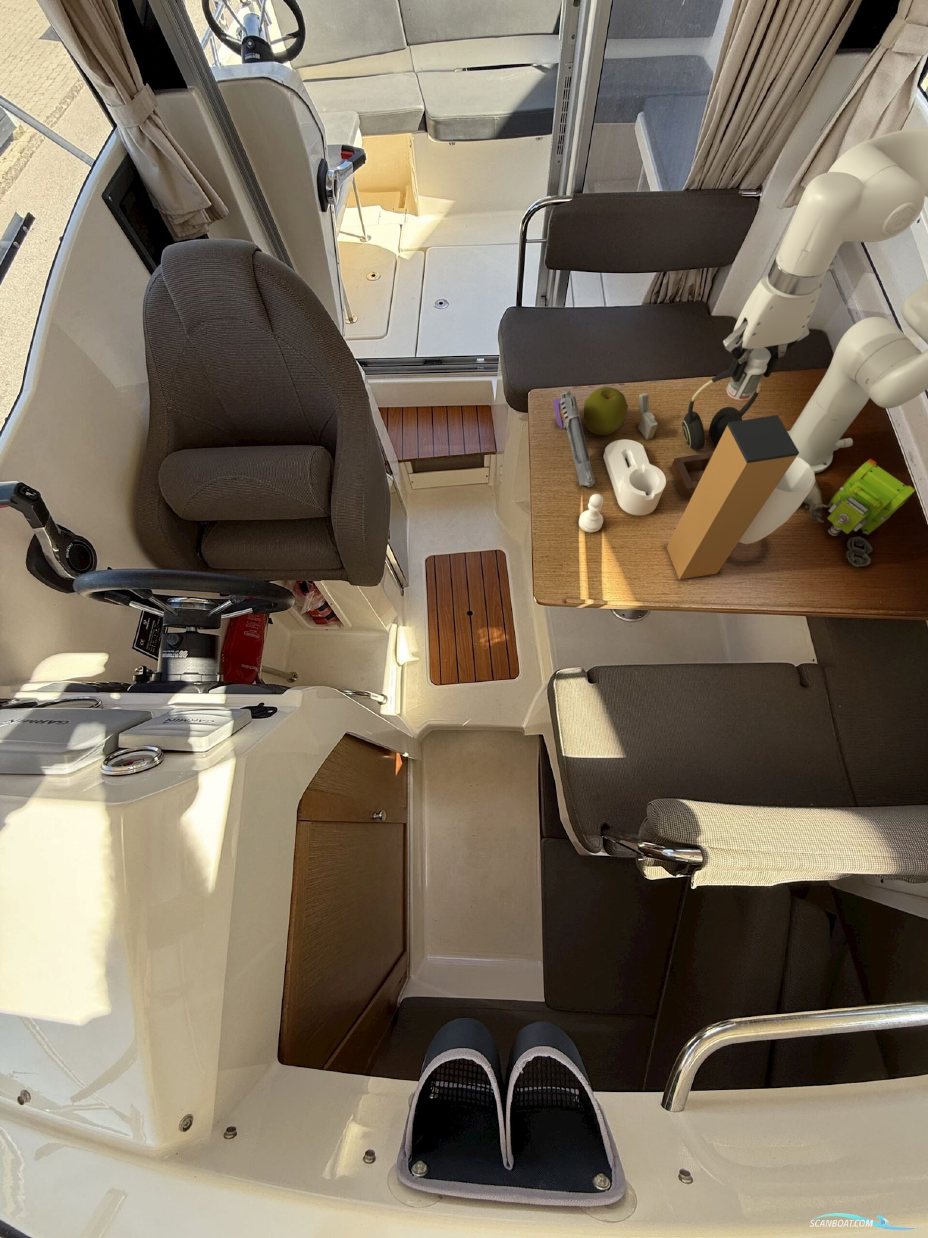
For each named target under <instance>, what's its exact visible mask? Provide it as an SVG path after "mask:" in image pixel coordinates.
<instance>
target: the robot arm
mask: <svg viewBox="0 0 928 1238" xmlns="http://www.w3.org/2000/svg"><path fill="white" fill-rule="evenodd" d="M926 198H928V128H927V127H926V128H925V127H924V128H923V127H919V128H908V129H900V130H896V131H893V132H889V133H886V134H882V135H878V136H876V137H873V138H870V139H866V140H865V141H863V142H860V143H858V144H856V145H854V146H852V147H851V148H849V149H848V150H846V151H845V152H844V153H842V154H841V156H839V157H838V158H837V159H836V160H835V161H834V162H833V164H832V165H831V166H830V167H829V169H828V171H827V172H824V173H821V174H818V175H816V176H815V177H813V179H812V180H811V181H809V183H808V184H807V185H806V186H805V189H804V191H803V193H802V195H801V198H800V200H799V202H798V205H797V207H796V209H795V211H794V214H793V216H792V218H791V221H790V223H789V225H788V227H787V230H786V232H785V234H784V237H783V239H782V241H781V244H780V246H779V248H778V251H777V253H776V254H775V255H776V256H775V258H774V260H773V263H772V264H771V267H770V269H769V272H768V273H767V276H763V277H761V279H760V280H759V281H758V283H756V286H755V287H754V289H753V291H752V292H751V294H750V295H749V297H748V299H747V300H746V303H745V304H744V306H743V308H742V310H741V312H740V314H739V317H738V318H737V321H736V323H735V325H734V328H733V331H732V332H731V333H730V334H729V335H728V336H727V337H726V338H725V339H724V340H723V341H722V345H723V347H724V349H725V350H726V351H727V352H729V353H731V354H732V356H733V358H732V361H731V363H730V366H729V367H728V370H729V374H730V375H731V376H732V377H731V378H733V380H734V382H738V381H740V378H741V376H742V374H743V372H744V370H745V368H746V366H747V362H746V359H747V358H748V357H749V355H750V354H751V353H752V351H753V350H754V349H755V348H761V347H764V348H766V347H767V348H766V349H767V350H768V351H769V352H770V354H771V357H770V359H769V361H768V363H767V369H766V371H765V373H764V375H763V377H764V378H769V377H770V376H771V375H772V372H773V370H774V369H775V366H776V365H777V363H778V361H779V360H780V358H782V357H784V356H785V355H786V353H787V351H788V350H789V349H791V348H793V347H794V346H795V345H796V344H797V343H798V342H799V341H801V340H803V339H804V338H806V337H808V336H809V334H810V330H809V327H808V323H809V321H810V320H811V317H812V314H814V313H813V312H814V310H815V307H816V305H817V303H818V300H819V297H820V295H821V294H820V293H821V289H822V281H823V279H824V278H825V276H826V273H828V272H831V271H833V269H834V266H835V262H834V261H833V260H834V258H835V256H836V254H837V253H838V250H839V249H840V247H841V245H842V244H843V243H877V242H883V241H887V240H889V239H892V238H895V237H896V236H898V235H900V234H901V233H903V232H904V231H906V230H907V229H908V228H910V227H911V226H912V224H914V222H916V220H917V219H918V217H919V216H920V214H921V213H922V210H923V209H924V204H925V199H926ZM901 316H902V318H903V320H904V321H905V322H906V323H907V325H908V326H909V327H910V329H911V330H912V331H913V332H915V333H916V335H917V336H918V337H919V338H920V339H921V340H922V341H923V342H924V343H925V344H926V345H928V279H927V280H926V281H924V282H923V283H922V284H921V285H919V286H918V287H917V288H916V289H914V291H912V292H911V293H910V294H909V295H908V296H907V298H906V299H905V300H904V302H903V303H902V306H901ZM927 390H928V348H927V349H926V350H924V351H923V352H922V351H921V350H920V349H919V348H918V347H917V346H916V345H915V344H914V343H913V342H912V340H911V338H909V337H908V336H907V335H906V334H905V333H904V332H903V331H902V330H901V329H900V328H899V327H898V326H897V325H896V324H894V323H893V322H892V321H890V320H889V319H886V318H884V317H880V316H870V317H866V318H863V319H860V320H859V321H857V322H856V323H854V324H853V325H852V326H851V327H849V328H848V330H846V331H845V333H844V334H843V335H842V337H841V338H840V340H839V342H838V343H837V346H836V348H835V350H834V353H833V356H832V358H831V362H830V364H829V366H828V368H827V370H826V372H825V373H824V376H823V378H822V379H821V381H820V383H819V384H818V386H817V387H816V389H815V390H814V392H813V394H812V395H811V397H810V399H809V400H808V401H807V403H806V404H805V406H804V408H803V409H802V411H801V413H800V414H799V416H798V417H797V419H796V421H795V422H794V424H793V425H792V427H791V428H790V430H787V432H788V434H789V436H790V437H791V439H792V441H793V442H794V444H795V446H796V448H797V449H798V451H799V454H798V455H797V457H800V458H801V459H803V460H804V461H805V462H807V463H808V464H809V465H810V467H811V468H812V470H813V471H814V474H815V475H816V474H818V473H821V472H824V471H826V469H827V468H828V467H829V466H830V465H831V463H832V462H833V458H834V452H835V451H838V450H839V449H844V448H850V447H852V446H853V445H854V440H853V439H852V437H848V438H842V437H843V435H844V434H845V432H846V431H847V430H848V428H849V427H850V426H851V424H852V423H853V422H854V420H855V419H856V418H857V416H858V415H859V414H860V412H861V411H862V410H863V408H864V407H865V406H866V404H867V403H868V402H869V399H870V400H871V401H872V402H873V403H874V404H875V405H877V406H878V407H880V408H882V409H894V408H897V407H899V406H902V405H904V404H906V403H908V402H909V401H911V400H913V399H914V398H916V397H918V396H919V395H921V394H923V393H924V392H925V391H927ZM841 438H842V439H841Z"/></svg>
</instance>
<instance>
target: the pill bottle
mask: <svg viewBox="0 0 928 1238" xmlns="http://www.w3.org/2000/svg"><path fill="white" fill-rule="evenodd" d="M770 357H771V354H770V352H769V351H768V350H767V348H766V347H761V348H755V349H754V350H753V351H752V353H751V354H750V355H749V357H748V358H747V359H746V362H747V366H746V368H745V370H744V372H743V374H742V376H741V378H740V381H738V382H734V380H733V378H732V377H730V380H729V382H728V384H727V386H726V394H727V395H728V396H729V397H730V398H732V399H733V400H736V401H739V402H741V401H747V400H750V399H751V397H752V396H753V394H754V393H755V391H756V390H757V388H758V384H759V382H760V383H761V380H762V378H763V377H764V373H765V371H766V369H767V363H768V361H769V359H770Z"/></svg>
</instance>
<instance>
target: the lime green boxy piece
mask: <svg viewBox="0 0 928 1238" xmlns="http://www.w3.org/2000/svg"><path fill="white" fill-rule="evenodd" d="M915 492H916V489H915V488H914V487H912V486H911V485H906V484H904V482H902V481H900V480H899V479H897V478H896V477H895V476H893V475H892V474H890V473H889V472H887V471H886V470H885V469H884V468H882V467H880V466H879V465H877V462H876V461H875V460H873V459H872V458H869V459H868V460H867V461H865V462H864V463H863V464H861V465H860V466H859V467H858V468H857V470H855V472H853V473H852V474H851V475H850V476H849V477H848V478H847V480H846V481H845V482H844V483H843V485H842V486H841V487H840V488H839V490H837V492H835V494H834V495H833V496H832V498H831V499H829V502H828V504H827V505H828V506H830V507H828V508H829V509H828V512H829V513H830V514H829V516H828V517H827V520H828V521H829V522H830V523H832V525H831V527H829V528H828V530H827V532H828V534H829V535H830V536H832V537H836V536H838V535H840V532H843V533H845V534H846V535H848V534H850V533H851V532H853V531H854V532H858V530H860V529H861V532H862V534H863V535H864V534H865V535H867V536H869V535H870V534H871V533H872V532H873V531H875V530H876V529H878V527H880V526H881V525H883V524H884V522H886V521H887V520H888V519H890V518H891V516H892V515H893V514H894V513H895V512H896V511H897V510H898V509H899V508H901V507H902V506H903V505H904V504H905V503H906V501H907V500H908V499H910V498H911V496H913V494H914V493H915Z"/></svg>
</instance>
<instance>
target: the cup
mask: <svg viewBox="0 0 928 1238" xmlns="http://www.w3.org/2000/svg"><path fill="white" fill-rule="evenodd" d="M815 475H816V473H815V474H814V471H813V470H812V468H811V467H810V465H809V464H808V463H807V462H805V461H804V460H803V459H801V458H800V457H796V458H795V460H794V461H793V463H792V464H791V466H790V467H789V469H788V470H787V472H786V473H785V474H784V476H783V477H782V479H781V480H780V482H779V483H778V485H777V486H776V488H775V489H774V491H773V492H772V494H771V495H770V496H769V498H768V499H767V501H766V502H765V504H764V505H763V507H762V508H761V510H760V511H759V513H758V514H757V515H756V517H755V518H754V520H753V521H752V523H751V524H750V526H749V527H748V529H747V530H746V532H745V533H744V535H743V536H742V537H741V539H740V540H739V542H738V543H741V544H742V545H743V544H745V545H748V544H749V545H750V544H753V543H757V542H759V541H760V540H762V539H765V538H766V537H768V536H769V535H770V534H772V533H773V532H774V531H776V530H777V529H779V528H780V527H781V526H782V525H784V524H785V523H786V522H787V521H789V519H790V518H792V516H793V515H794V513H796V512H797V510H798V509H799V508H800V507H801V505H802V504H803V503H802V502H803V501H804V499H805V498H806V496H807V495H808V493H809V492H810V491H811V489H812V487H813V485H814V483H815V480H816V476H815Z"/></svg>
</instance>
